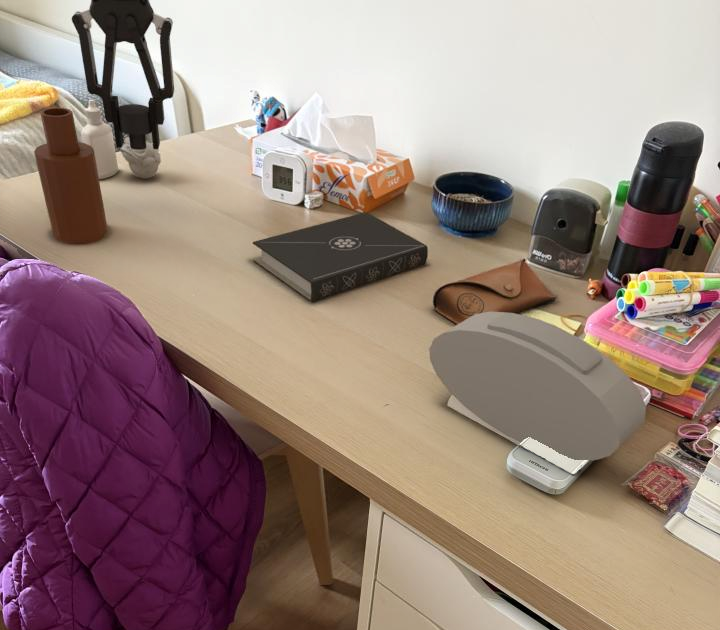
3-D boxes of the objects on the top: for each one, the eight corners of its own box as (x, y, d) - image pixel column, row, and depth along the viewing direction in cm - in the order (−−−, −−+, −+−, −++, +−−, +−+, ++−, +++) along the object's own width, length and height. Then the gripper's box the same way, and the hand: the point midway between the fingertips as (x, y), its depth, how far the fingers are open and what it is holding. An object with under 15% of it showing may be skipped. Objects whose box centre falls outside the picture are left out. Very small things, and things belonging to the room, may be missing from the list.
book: (312, 303, 98) (313, 283, 96) (252, 261, 106) (252, 241, 104) (427, 265, 109) (429, 246, 107) (364, 229, 117) (366, 211, 115)
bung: (120, 151, 108) (115, 112, 105) (124, 141, 112) (119, 103, 108) (152, 153, 109) (148, 114, 105) (155, 143, 113) (152, 105, 109)
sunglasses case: (475, 332, 94) (464, 281, 92) (439, 335, 100) (428, 288, 98) (561, 297, 103) (553, 250, 101) (524, 302, 109) (515, 257, 107)
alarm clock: (625, 466, 77) (668, 367, 68) (598, 494, 73) (640, 392, 64) (452, 375, 87) (471, 278, 79) (421, 395, 84) (437, 296, 75)
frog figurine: (116, 177, 125) (110, 135, 121) (149, 168, 130) (144, 127, 125) (138, 187, 123) (132, 145, 118) (171, 178, 127) (166, 136, 122)
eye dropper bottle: (123, 176, 126) (112, 102, 118) (92, 181, 123) (78, 105, 115) (115, 168, 129) (103, 95, 120) (83, 172, 126) (69, 98, 118)
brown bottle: (48, 243, 105) (19, 119, 94) (58, 221, 111) (32, 102, 99) (103, 244, 106) (81, 122, 95) (110, 222, 112) (90, 104, 100)
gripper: (186, -38, 99) (198, 140, 114) (51, -49, 96) (82, 134, 112) (182, -30, 93) (195, 156, 109) (39, -41, 91) (74, 151, 106)
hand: (138, 145), depth 110 cm, fingers closed on bung, 5 cm apart
